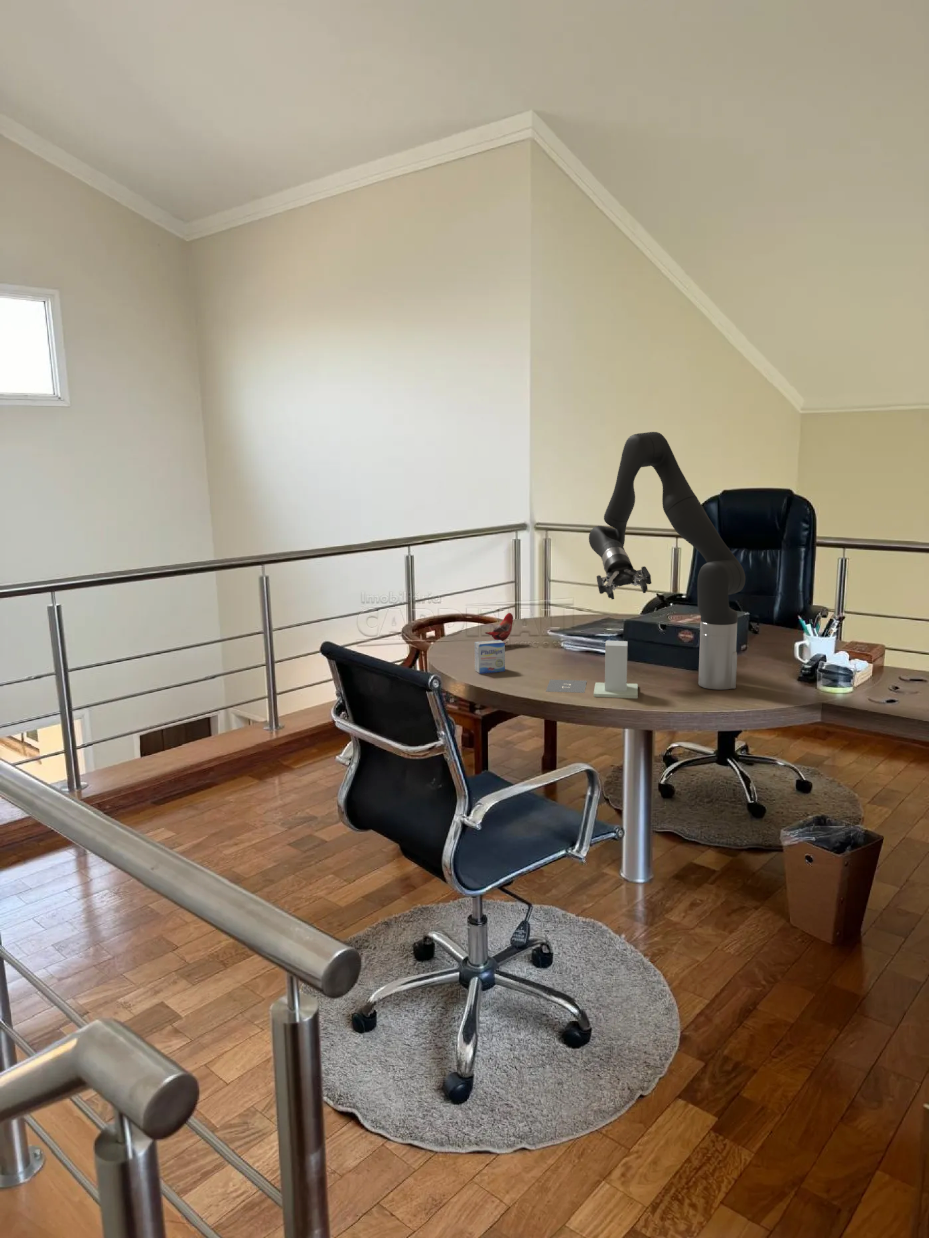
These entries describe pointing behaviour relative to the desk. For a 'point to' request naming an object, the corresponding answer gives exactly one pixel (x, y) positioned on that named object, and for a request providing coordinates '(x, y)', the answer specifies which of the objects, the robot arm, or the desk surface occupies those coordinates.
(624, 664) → the light grey block
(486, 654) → the medicine box
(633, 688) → the sage mat
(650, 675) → the desk surface
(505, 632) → the decorative bird figurine
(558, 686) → the tile
